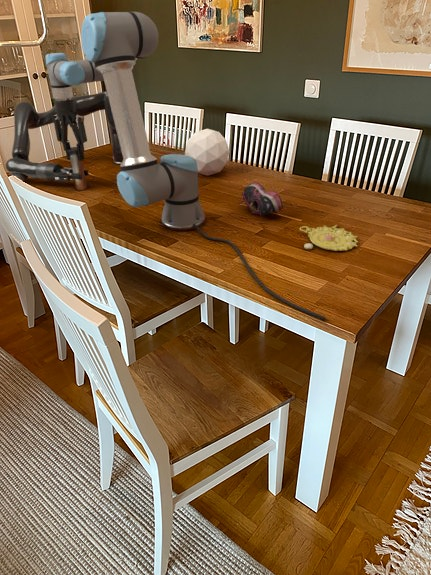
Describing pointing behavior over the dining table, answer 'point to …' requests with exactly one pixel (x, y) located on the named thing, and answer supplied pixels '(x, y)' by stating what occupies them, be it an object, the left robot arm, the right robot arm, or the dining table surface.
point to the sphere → (208, 151)
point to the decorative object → (330, 238)
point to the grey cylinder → (78, 172)
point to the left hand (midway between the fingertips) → (84, 175)
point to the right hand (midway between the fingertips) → (76, 159)
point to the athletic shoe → (261, 200)
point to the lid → (72, 151)
